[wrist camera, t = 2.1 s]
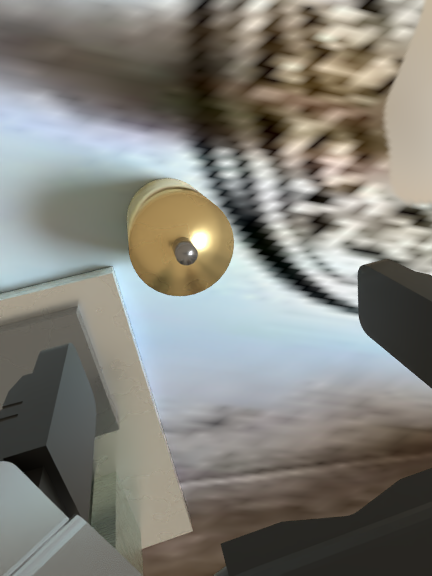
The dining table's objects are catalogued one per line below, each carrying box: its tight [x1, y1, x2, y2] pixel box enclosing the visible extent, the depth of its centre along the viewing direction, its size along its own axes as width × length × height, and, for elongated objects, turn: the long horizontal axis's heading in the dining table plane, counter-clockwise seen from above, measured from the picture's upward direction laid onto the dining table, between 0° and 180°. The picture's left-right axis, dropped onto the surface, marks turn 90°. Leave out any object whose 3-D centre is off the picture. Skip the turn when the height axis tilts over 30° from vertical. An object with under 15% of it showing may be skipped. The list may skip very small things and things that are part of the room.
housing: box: [127, 178, 234, 296], centre depth 20 cm, size 5×5×7 cm
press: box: [0, 266, 193, 575], centre depth 22 cm, size 14×24×12 cm, turn 11°
